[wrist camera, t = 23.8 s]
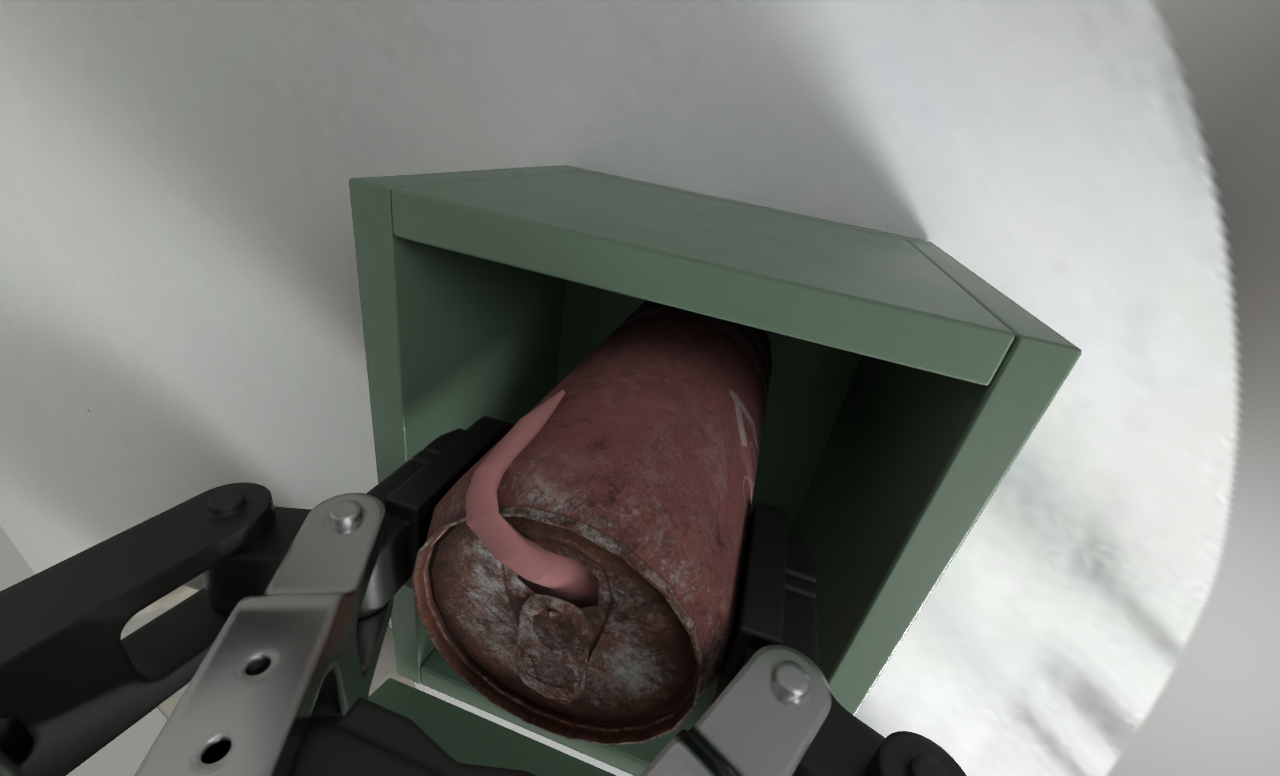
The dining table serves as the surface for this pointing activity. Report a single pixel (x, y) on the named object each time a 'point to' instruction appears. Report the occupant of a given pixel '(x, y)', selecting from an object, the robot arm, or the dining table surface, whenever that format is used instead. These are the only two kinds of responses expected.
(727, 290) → the chest
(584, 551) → the can
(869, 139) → the dining table surface
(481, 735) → the lid
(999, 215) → the dining table surface
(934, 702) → the dining table surface
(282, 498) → the dining table surface
